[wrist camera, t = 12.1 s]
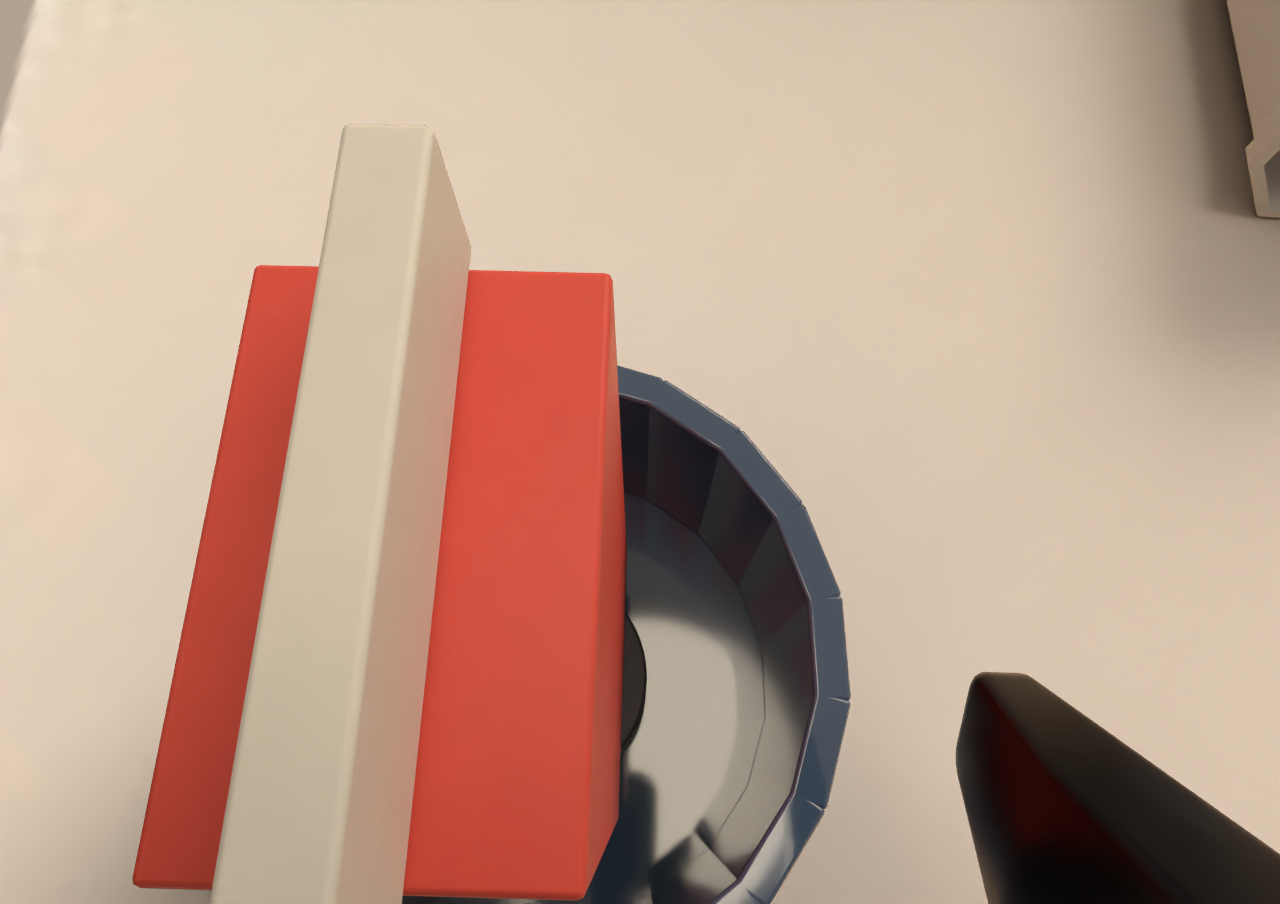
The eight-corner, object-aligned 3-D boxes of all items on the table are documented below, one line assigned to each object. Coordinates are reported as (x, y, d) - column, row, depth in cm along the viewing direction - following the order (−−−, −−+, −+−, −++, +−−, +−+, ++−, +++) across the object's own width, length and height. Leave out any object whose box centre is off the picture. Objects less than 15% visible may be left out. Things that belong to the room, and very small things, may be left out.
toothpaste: (642, 828, 16) (655, 998, 4) (441, 823, 16) (-139, 972, 4) (649, 564, 17) (669, 127, 6) (466, 559, 17) (104, 114, 6)
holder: (858, 845, 16) (960, 880, 11) (379, 1025, 15) (246, 1155, 10) (693, 416, 19) (714, 284, 14) (281, 543, 18) (140, 454, 13)
